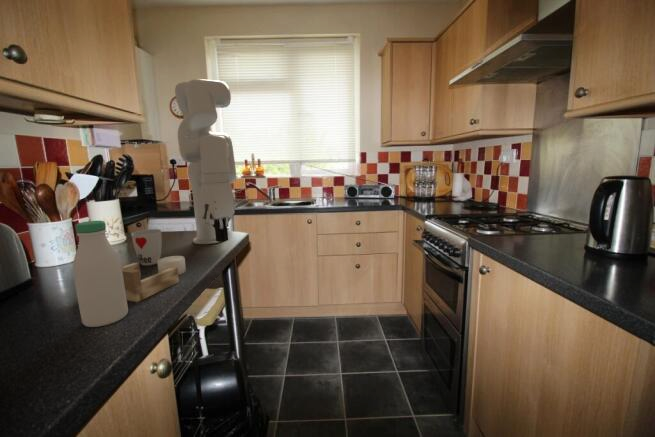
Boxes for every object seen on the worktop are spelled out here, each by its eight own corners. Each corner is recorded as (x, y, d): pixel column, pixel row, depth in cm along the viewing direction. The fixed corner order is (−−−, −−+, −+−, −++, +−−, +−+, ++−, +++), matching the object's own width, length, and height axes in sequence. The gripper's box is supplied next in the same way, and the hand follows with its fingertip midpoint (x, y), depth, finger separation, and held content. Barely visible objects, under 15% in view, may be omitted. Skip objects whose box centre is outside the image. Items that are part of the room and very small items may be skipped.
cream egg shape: (172, 267, 93) (171, 254, 93) (191, 269, 91) (189, 256, 90) (153, 275, 87) (151, 262, 86) (172, 278, 85) (170, 264, 84)
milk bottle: (132, 317, 63) (118, 221, 59) (85, 333, 58) (66, 228, 54) (123, 305, 69) (110, 217, 65) (79, 318, 63) (62, 222, 60)
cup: (130, 264, 97) (125, 233, 95) (154, 257, 104) (150, 228, 102) (146, 268, 93) (141, 236, 91) (170, 260, 100) (166, 230, 98)
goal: (136, 276, 87) (133, 252, 85) (179, 281, 82) (176, 256, 80) (91, 294, 75) (86, 266, 74) (137, 302, 70) (133, 272, 69)
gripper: (222, 178, 98) (227, 235, 101) (186, 181, 84) (194, 246, 87) (242, 178, 96) (247, 236, 99) (209, 180, 82) (216, 247, 85)
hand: (222, 240), depth 93 cm, fingers closed
